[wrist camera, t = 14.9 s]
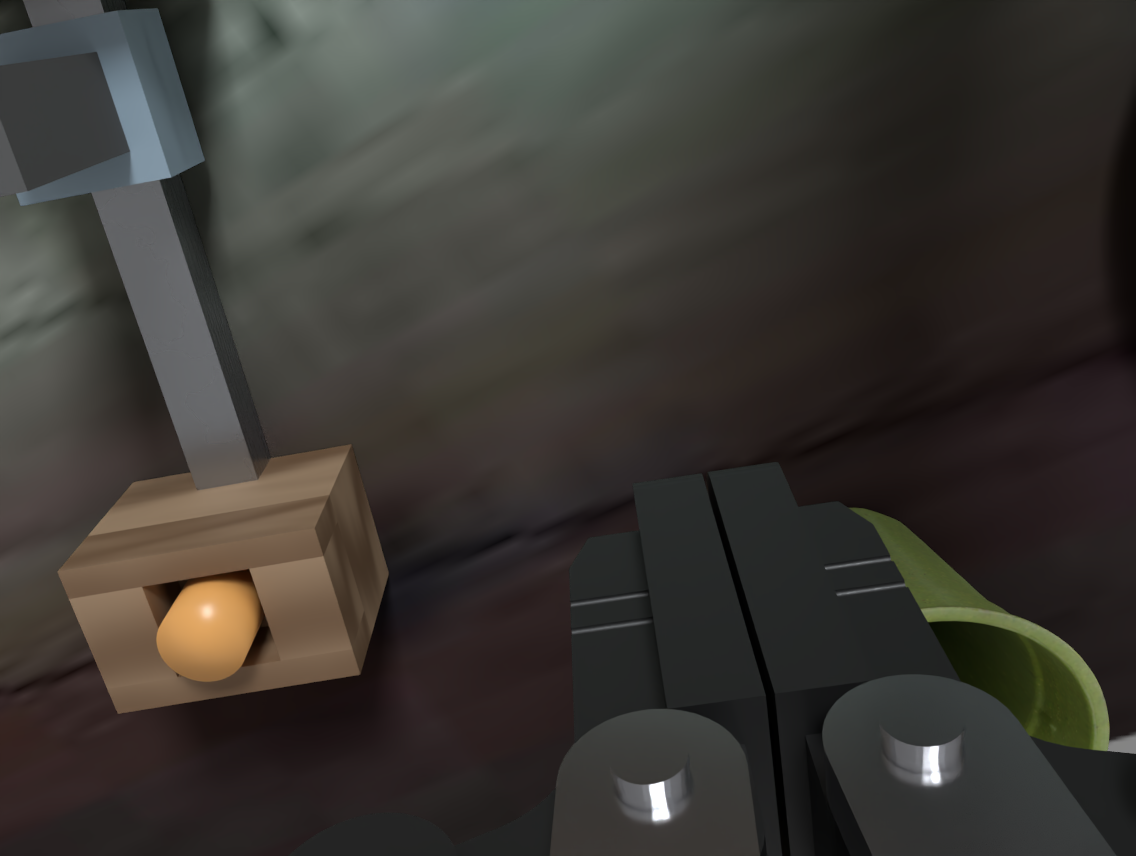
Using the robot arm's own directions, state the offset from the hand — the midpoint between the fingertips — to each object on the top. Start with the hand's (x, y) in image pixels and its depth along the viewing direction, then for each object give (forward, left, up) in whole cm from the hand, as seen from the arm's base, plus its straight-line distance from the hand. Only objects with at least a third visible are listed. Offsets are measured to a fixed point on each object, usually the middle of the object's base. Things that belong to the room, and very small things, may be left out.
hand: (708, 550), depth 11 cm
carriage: (-5, -16, -29) cm, 33 cm away
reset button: (+12, -16, -24) cm, 31 cm away
